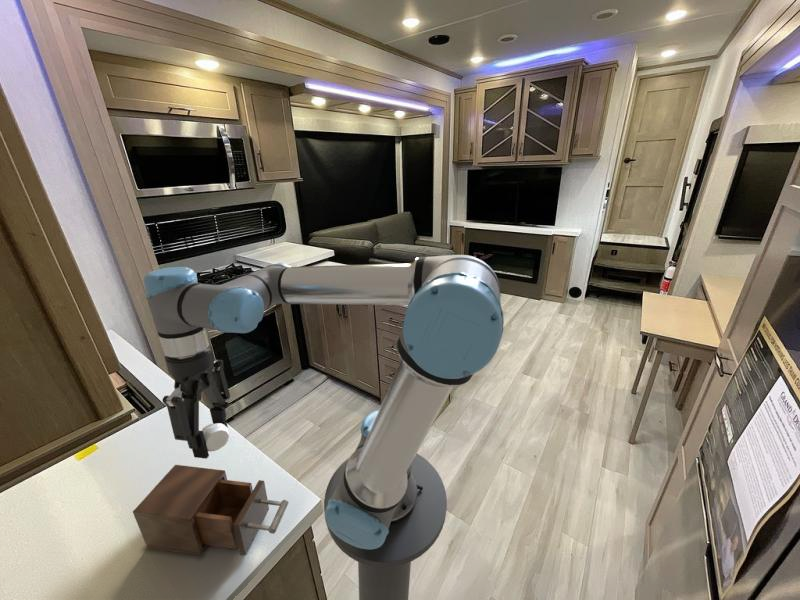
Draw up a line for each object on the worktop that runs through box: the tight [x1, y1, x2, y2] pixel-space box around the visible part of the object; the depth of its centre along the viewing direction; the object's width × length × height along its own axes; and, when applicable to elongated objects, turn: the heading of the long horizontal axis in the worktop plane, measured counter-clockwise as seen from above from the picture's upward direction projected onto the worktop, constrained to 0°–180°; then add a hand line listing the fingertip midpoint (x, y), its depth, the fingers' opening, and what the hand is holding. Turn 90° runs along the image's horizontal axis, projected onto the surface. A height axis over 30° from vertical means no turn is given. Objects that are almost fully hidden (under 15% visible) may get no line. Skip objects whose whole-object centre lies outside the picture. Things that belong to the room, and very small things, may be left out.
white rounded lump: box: [201, 423, 230, 452], centre depth 67 cm, size 6×6×5 cm
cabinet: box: [132, 464, 228, 556], centre depth 66 cm, size 12×11×11 cm
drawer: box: [194, 479, 289, 556], centre depth 65 cm, size 16×9×9 cm, turn 84°
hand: (212, 443), depth 68 cm, fingers closed on white rounded lump, 6 cm apart
